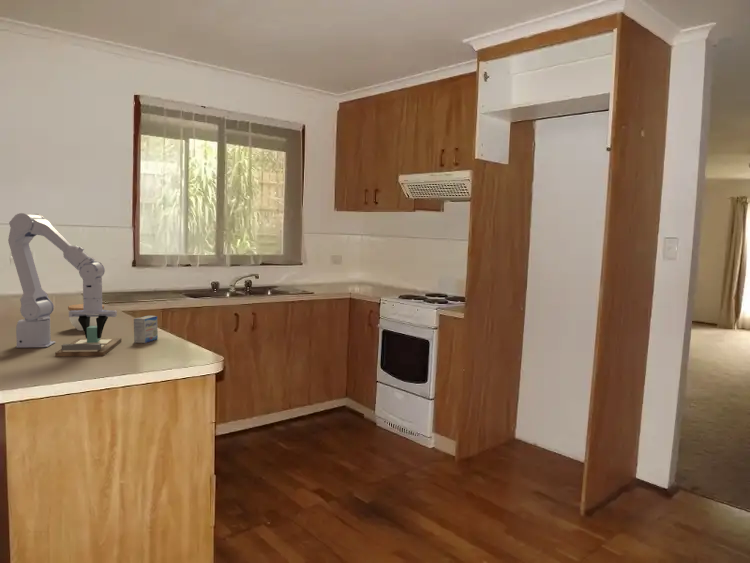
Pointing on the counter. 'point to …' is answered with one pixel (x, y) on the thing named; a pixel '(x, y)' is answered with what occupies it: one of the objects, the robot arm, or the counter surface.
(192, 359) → the counter surface
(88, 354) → the board
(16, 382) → the counter surface
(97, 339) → the cream plaque with block
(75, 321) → the lidded bowl
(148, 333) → the medicine box
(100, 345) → the grey flat block
